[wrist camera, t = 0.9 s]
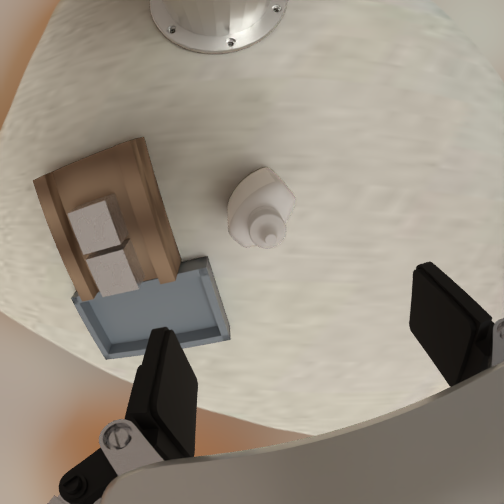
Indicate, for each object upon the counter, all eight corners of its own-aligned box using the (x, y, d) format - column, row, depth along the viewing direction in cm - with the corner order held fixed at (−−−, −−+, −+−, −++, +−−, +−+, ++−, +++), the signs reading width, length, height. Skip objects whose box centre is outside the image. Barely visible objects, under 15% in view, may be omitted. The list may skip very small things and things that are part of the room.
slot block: (55, 171, 27) (32, 180, 23) (143, 136, 26) (129, 140, 22) (96, 280, 32) (82, 301, 28) (181, 259, 32) (175, 281, 28)
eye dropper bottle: (218, 180, 29) (214, 220, 18) (276, 163, 29) (307, 192, 18) (232, 222, 31) (236, 283, 20) (287, 205, 30) (322, 257, 20)
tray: (79, 286, 32) (70, 298, 30) (207, 256, 32) (206, 267, 30) (111, 346, 36) (105, 359, 34) (229, 325, 36) (230, 339, 33)
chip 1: (78, 205, 26) (67, 213, 23) (114, 192, 25) (105, 200, 23) (93, 244, 27) (83, 254, 25) (128, 233, 27) (120, 244, 25)
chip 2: (95, 248, 27) (85, 259, 25) (130, 238, 27) (122, 249, 25) (110, 284, 29) (102, 297, 27) (145, 275, 29) (139, 289, 27)
